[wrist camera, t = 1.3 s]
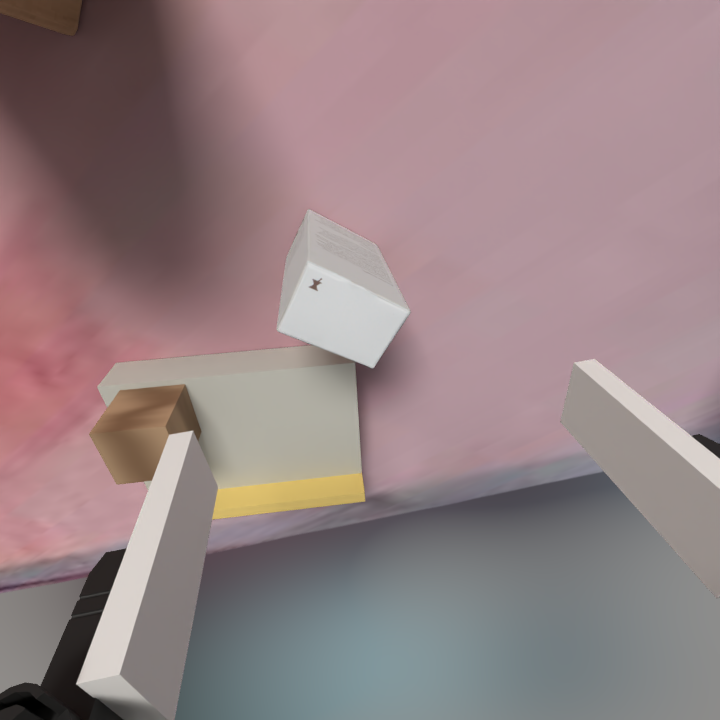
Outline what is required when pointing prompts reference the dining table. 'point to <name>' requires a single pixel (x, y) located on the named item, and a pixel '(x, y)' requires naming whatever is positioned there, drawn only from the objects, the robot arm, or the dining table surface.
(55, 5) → the wooden block
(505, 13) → the dining table surface
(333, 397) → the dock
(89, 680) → the robot arm
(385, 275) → the skincare box
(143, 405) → the tan wooden cube
